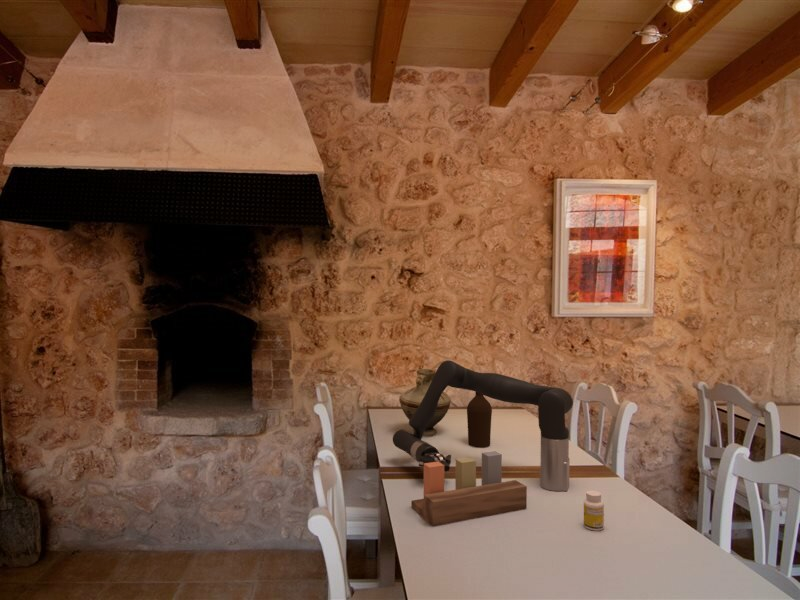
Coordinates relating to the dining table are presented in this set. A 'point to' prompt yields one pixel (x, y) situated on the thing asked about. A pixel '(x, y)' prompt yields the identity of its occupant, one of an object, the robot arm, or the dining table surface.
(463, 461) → the khaki rectangular block
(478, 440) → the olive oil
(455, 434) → the dining table surface
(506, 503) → the console
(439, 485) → the terracotta key
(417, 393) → the amphora
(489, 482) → the slate key
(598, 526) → the supplement bottle
